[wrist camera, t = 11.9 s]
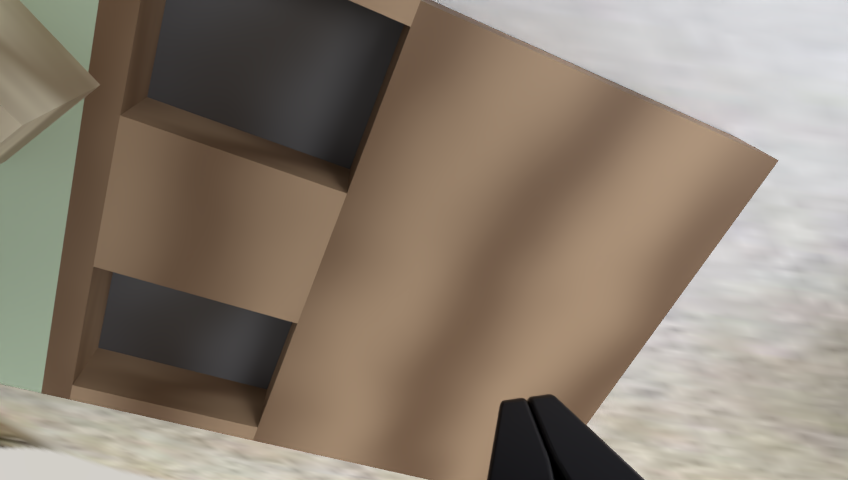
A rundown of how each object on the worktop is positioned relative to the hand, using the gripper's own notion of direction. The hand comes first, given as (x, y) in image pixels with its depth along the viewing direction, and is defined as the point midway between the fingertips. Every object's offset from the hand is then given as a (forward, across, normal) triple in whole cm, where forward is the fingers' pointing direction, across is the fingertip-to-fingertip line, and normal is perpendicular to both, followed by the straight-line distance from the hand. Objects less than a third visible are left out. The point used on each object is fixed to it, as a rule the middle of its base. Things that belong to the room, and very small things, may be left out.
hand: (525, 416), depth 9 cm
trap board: (+13, +3, +4) cm, 14 cm away
